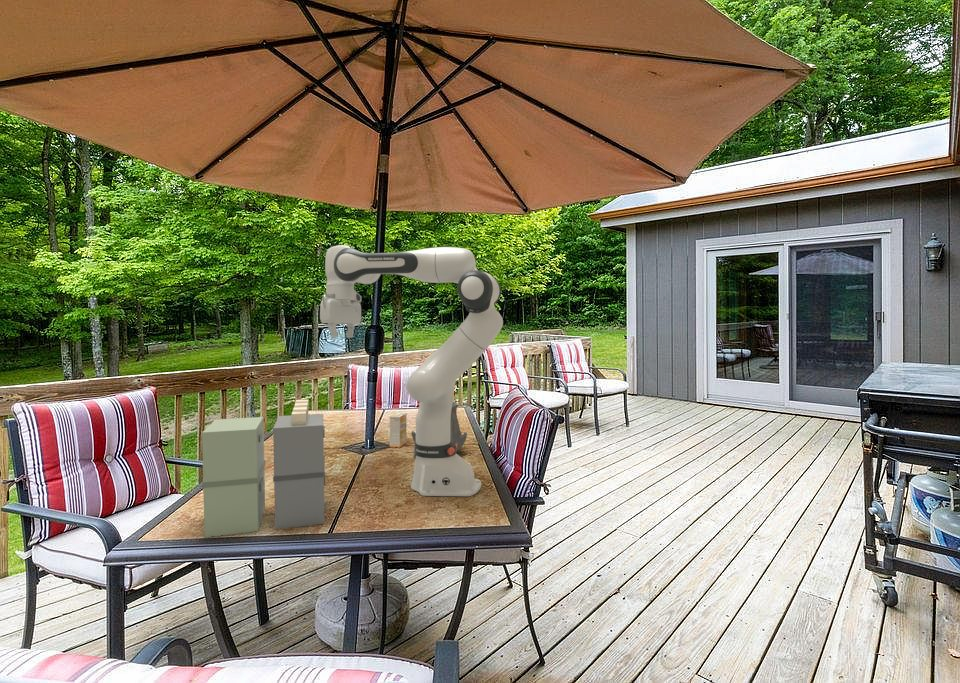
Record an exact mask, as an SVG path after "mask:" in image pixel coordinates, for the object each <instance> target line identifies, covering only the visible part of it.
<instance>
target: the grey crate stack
mask: <svg viewBox="0 0 960 683" xmlns="http://www.w3.org/2000/svg"><path fill="white" fill-rule="evenodd" d="M325 427H326V426H325V425H324V413H316V414H315V413H313V414H311V413H308V416H307V422H306V425H292V414H291V415H290V414H289V415H279V416H278V417H277V419H276V422H275V423H274V425H273V428H272V429H273V434H272V437H273V439H272V440H273V442H272V443H273V476H272V480H273V484H274V485H273V486H274V490H273V493H274V529H275V530H280V529H282V530H283V529H289V528H298V527H307V526H313V525H314V526H315V525H322V524H325V486H326V471H325V468H326V467H325V466H326V462H325V460H326V459H325V450H324V448H325V444H324V442H325V434H326V432H325Z"/></svg>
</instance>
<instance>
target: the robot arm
mask: <svg viewBox="0 0 960 683" xmlns="http://www.w3.org/2000/svg"><path fill="white" fill-rule="evenodd" d="M324 261H325V262H324V265H325V266H324V268H325V269H324V270H325V271H324V272H325V276H326V284H325V287H326V288H325V291H326V293H324V294H323V296H322V299H321V302H320V306H319V307H320V308H319V319H320V322H321V323H322V324H327V327H328V329H329V332H330V337H331V338H339V331H337V328H336V327H337V325H346V327H347V332H345V336H346V338H348V339H349V338H354V331H355V325H360V324H361V321H362V305H361V303H362V296H361V295H360V294H359V293H358V292H357V290H355V284H356V283H358V284H362V285H363V284H364V285H370V284H374V283H376V282H377V281H378V280H379V279H380V277H381V275H398V276H403V277H405V278H409V279H413V280H416V281H419V282H422V283H430V284H433V283H434V284H443V283H444V284H445V283H454V284H457V286H456V287H457V288H456V289H457V294H458V296H459V298H460V300H461V302H462V304H463V306H464V307H465V309H466V311H467V312H469V313H468V315H467V316H466V318H465V319H464V320H463V321H462V322H461V324H460V325H459V326H458V327H457V328H456V329H455V331H453V333H452V334H451V335H450V336H449V337H448V338H447V339H446V340H445V342H444V343H443V344H442V345H441V346H440V347H438V348H437V349H436V350H435V351H434V352H433V353H432V354H431V355H429V357H427V359H425V361H424V362H422V363H421V364H420V366H418V367H417V368H416V369H415V370H414V371H413V372H412V373H411V375H410V376H409V377H408V378H407V382H406V390H407V393H408V395H409V396H410V398H412V399H413V400H414V401H415V402H418V403H419V405H418V411H417V413H416V416H415V433H416V442H414V446H413V455H414V458H413V459H414V468H413V469H414V470H413V475H412V480H411V483H410V488H411V490H413V491H415V492H417V493H418V494H419V495H420V496H422V497H470V496H473V495H476V494H477V493H478V492H479V491H480V490H481V489H482V481H481V480H480V479H479V478H475V472H474V468H473V466H472V465H471V463H469V462H467V461H466V460H465V459H464V458H463V457H461V456H460V455H459V454H457V452H456V448H457V443H456V444H453V443H452V442H451V441H450V419H451V410H452V403H453V402H454V394H455V386H456V382H457V380H458V379H459V378H460V377H461V376H462V375H463V374H464V373H465V372H466V371H467V370H469V368H471V367H472V365H474V364H475V363H476V361H477V360H478V359H479V358H480V357H481V356H482V355H483V353H485V352H486V350H487V349H489V347H490V346H491V345H492V343H493V342H494V341H495V339H496V338H497V336H498V335H499V333H500V332H501V330H502V328H503V326H504V320H503V316H502V315H501V314H500V312H499V311H498V310H497V309H496V307H495V304H496V303H497V302H498V301H499V299H500V298H501V294H502V293H501V292H502V290H501V289H502V288H501V284H500V283H499V280H497V279H496V278H495V277H494V276H492V275H491V274H490V273H488V272H486V271H483V270H481V269H478V268H477V264H476V258H475V255H474V254H473V252H472V251H471V250H470V249H467V248H462V247H456V246H440V247H439V246H438V247H436V246H435V247H426V248H421V249H414V250H407V251H399V252H374V253H373V252H371V253H370V252H362V251H359V250H357V249H355V248H352V247H350V246H349V245H346V244H337V245H333V246H331V247H329V248H328V249H327V250H326V253H325V260H324Z"/></svg>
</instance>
